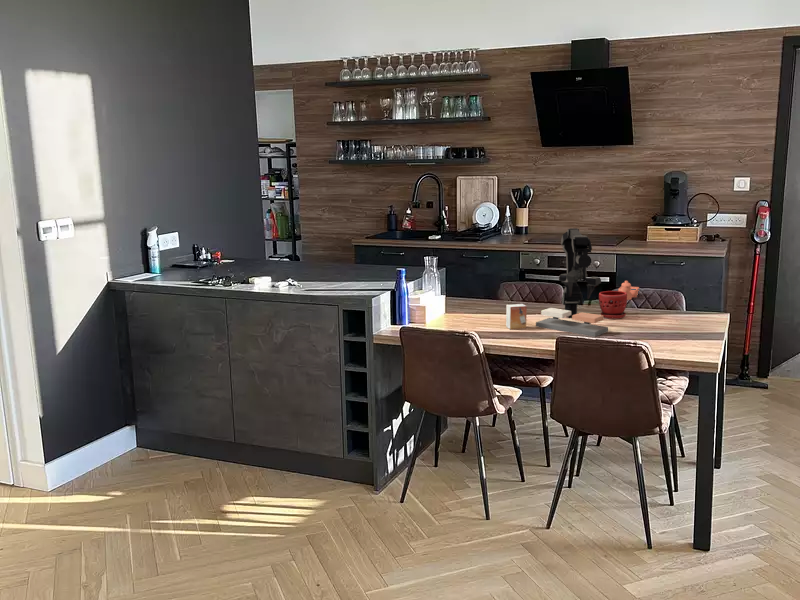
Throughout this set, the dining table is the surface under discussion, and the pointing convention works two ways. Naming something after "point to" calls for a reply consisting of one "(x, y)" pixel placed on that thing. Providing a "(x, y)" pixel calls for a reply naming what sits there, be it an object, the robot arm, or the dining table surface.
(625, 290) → the pottery
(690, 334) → the dining table surface
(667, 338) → the dining table surface
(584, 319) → the terracotta key
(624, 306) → the plant pot
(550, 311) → the cream rectangular block
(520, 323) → the small box
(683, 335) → the dining table surface
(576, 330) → the key panel
